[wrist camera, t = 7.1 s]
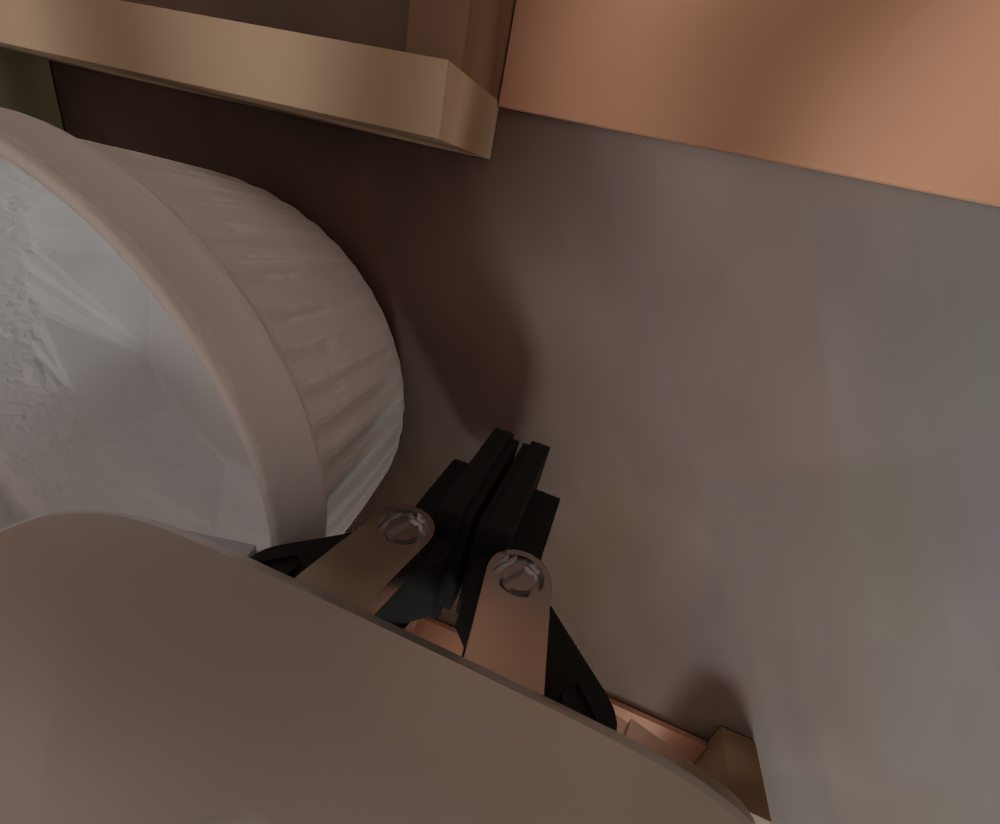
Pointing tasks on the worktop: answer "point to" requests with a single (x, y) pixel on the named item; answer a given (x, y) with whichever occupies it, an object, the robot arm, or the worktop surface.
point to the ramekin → (181, 348)
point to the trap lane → (588, 107)
